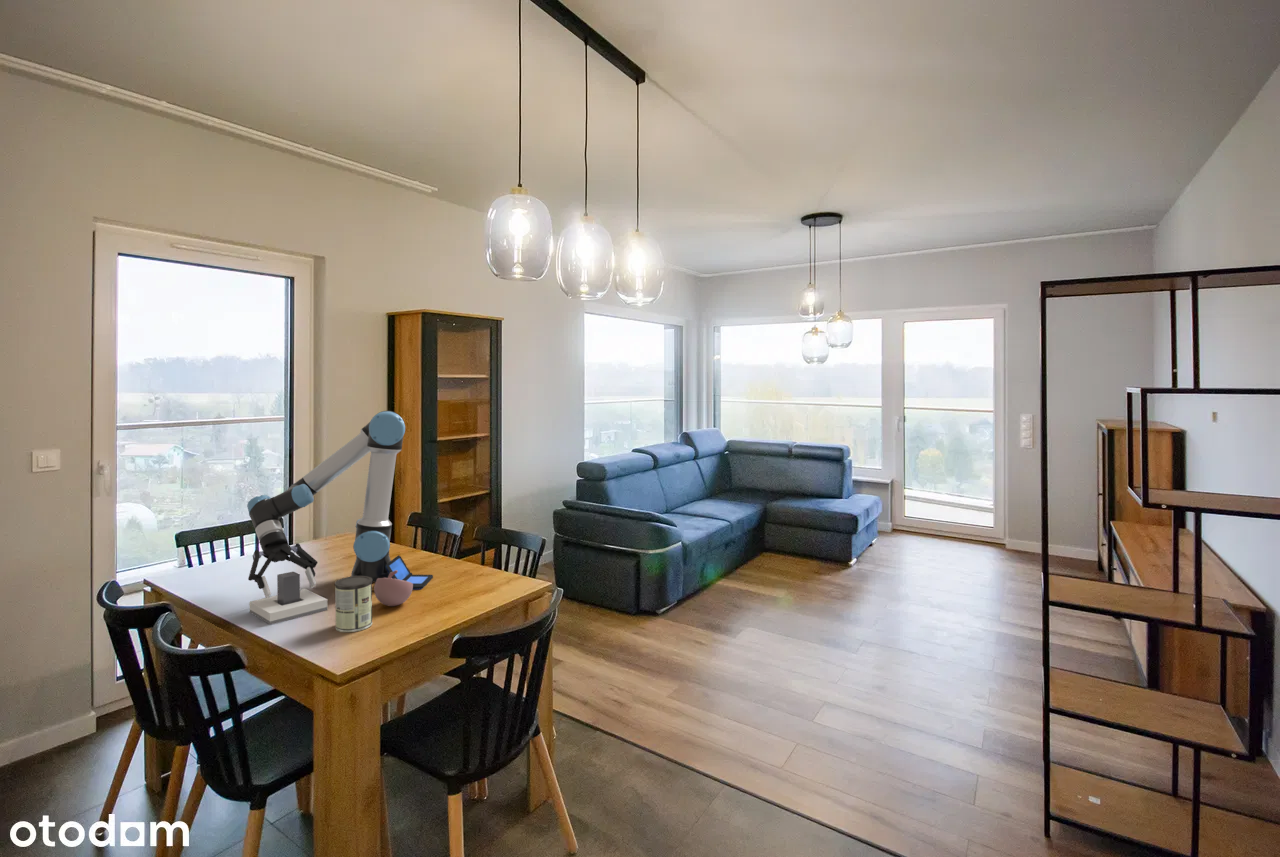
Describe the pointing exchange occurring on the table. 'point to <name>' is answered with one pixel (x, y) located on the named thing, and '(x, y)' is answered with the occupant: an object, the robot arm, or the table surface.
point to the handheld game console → (407, 573)
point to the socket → (287, 607)
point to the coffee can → (353, 603)
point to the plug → (288, 588)
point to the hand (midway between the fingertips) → (291, 590)
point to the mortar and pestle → (392, 590)
